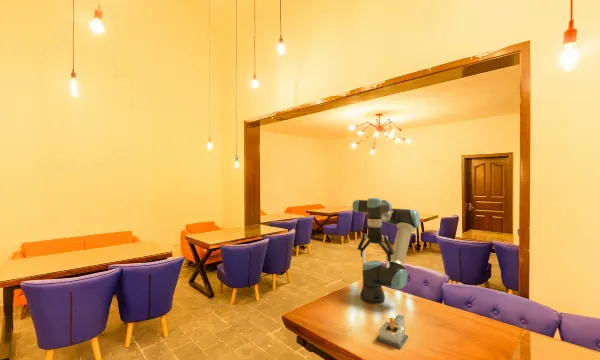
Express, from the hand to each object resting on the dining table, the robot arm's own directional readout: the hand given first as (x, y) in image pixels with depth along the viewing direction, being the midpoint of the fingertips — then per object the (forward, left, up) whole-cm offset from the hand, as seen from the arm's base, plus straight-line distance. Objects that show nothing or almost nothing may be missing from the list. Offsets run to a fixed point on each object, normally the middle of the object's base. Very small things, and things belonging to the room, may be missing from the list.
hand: (375, 265), depth 148 cm
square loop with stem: (+10, +14, -28) cm, 33 cm away
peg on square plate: (+15, +14, -29) cm, 35 cm away
